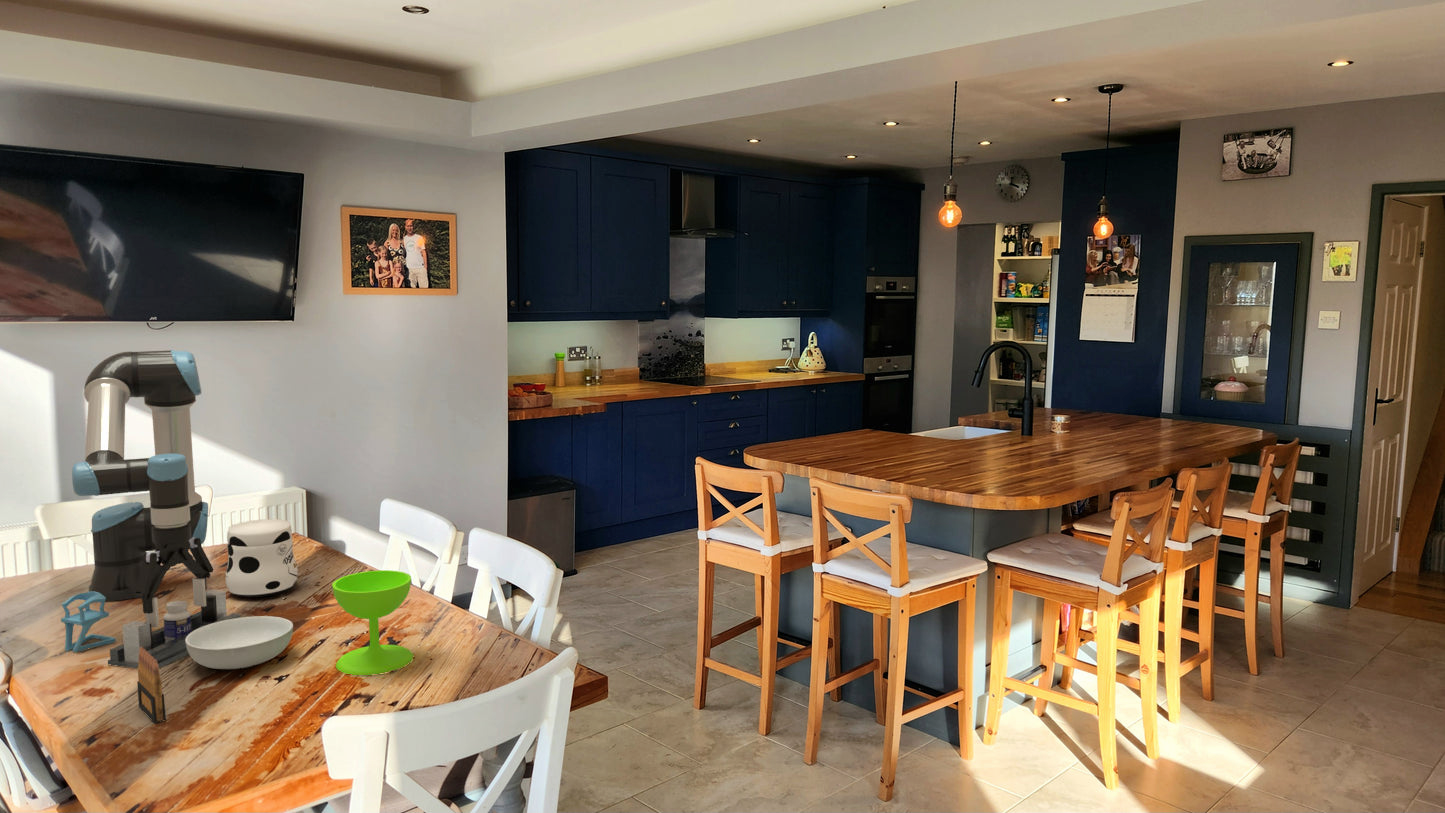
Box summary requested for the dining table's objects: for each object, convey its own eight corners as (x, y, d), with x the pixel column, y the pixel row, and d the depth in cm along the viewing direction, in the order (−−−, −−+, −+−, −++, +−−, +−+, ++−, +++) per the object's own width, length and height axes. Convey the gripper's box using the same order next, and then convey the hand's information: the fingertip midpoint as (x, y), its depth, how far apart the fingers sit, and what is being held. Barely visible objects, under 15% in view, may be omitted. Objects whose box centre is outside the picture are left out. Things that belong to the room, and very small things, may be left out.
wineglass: (339, 681, 196) (336, 597, 194) (332, 655, 210) (328, 576, 208) (420, 668, 203) (417, 586, 201) (407, 643, 217) (404, 566, 215)
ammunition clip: (138, 706, 184) (134, 646, 183) (149, 703, 185) (145, 644, 184) (154, 723, 177) (150, 661, 175) (166, 720, 178) (161, 659, 176)
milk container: (312, 589, 256) (309, 523, 254) (250, 606, 242) (247, 537, 240) (274, 578, 266) (270, 515, 264) (212, 594, 251) (208, 528, 249)
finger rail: (200, 624, 229) (198, 587, 228) (243, 628, 226) (241, 591, 225) (107, 664, 204) (104, 624, 203) (154, 670, 201) (151, 629, 200)
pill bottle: (179, 646, 212) (177, 607, 211) (159, 644, 213) (157, 606, 212) (197, 638, 217) (195, 600, 216) (177, 636, 218) (175, 598, 217)
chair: (57, 650, 212) (52, 598, 211) (92, 637, 220) (88, 587, 219) (81, 654, 210) (77, 602, 208) (117, 641, 217) (112, 590, 216)
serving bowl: (315, 650, 213) (314, 620, 212) (240, 686, 193) (238, 654, 193) (243, 639, 220) (241, 610, 219) (163, 673, 200) (161, 641, 199)
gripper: (199, 509, 225) (205, 596, 227) (109, 537, 201) (116, 633, 203) (226, 512, 223) (231, 599, 226) (138, 540, 199) (145, 637, 202)
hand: (177, 615), depth 215 cm, fingers open, 13 cm apart
